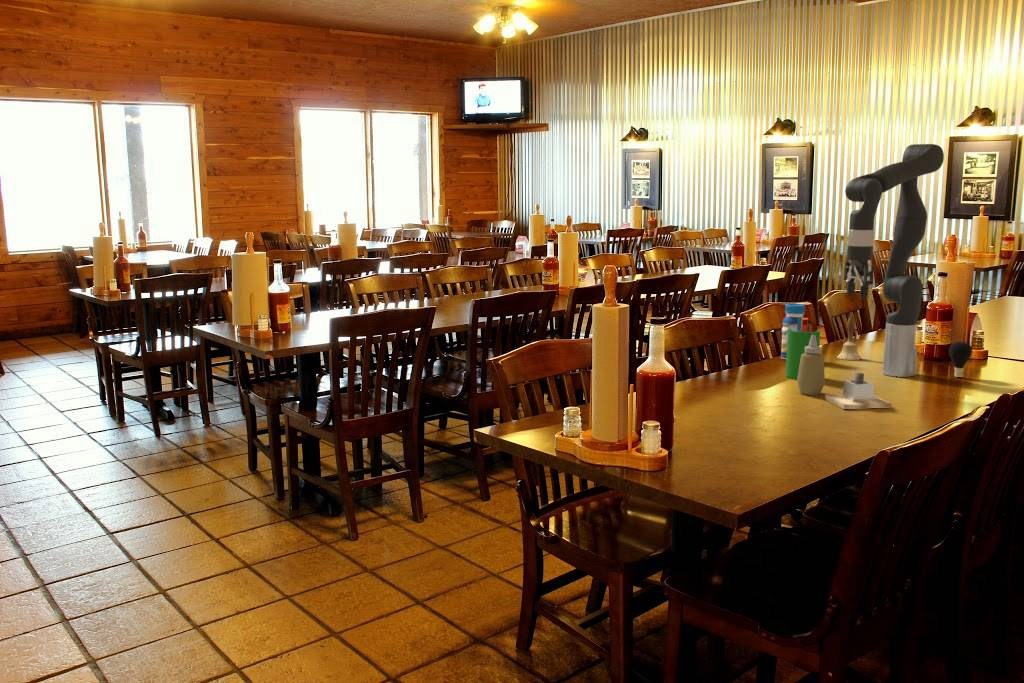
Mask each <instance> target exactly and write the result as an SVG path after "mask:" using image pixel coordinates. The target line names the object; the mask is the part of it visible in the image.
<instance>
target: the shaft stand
mask: <svg viewBox="0 0 1024 683" xmlns="http://www.w3.org/2000/svg"><path fill="white" fill-rule="evenodd" d="M864 377H865V373H863V372H855V374H854V380H855V382H854V383H855V384H863V382H864V380H865V379H864ZM824 396H825V397H824V400H825V399H826V400H825V401H826V402H828V401H829V403H830V402H831V404H832V403H833V404H832V405H834V404H835V405H834V406H836V405H837V406H836V407H838V406H839V407H838V408H840V407H841V408H843V409H858V410H868V409H867V408H889V409H892V407H893V406H892V402H890V401H888V400H886V399H883V398H881V397H879V396H877V395H875V394H873V401H860V402H853V401H851V400H849V399H847V398H845V397H843V393H841V394H825V395H824ZM841 408H840V409H841ZM843 409H842V410H843Z"/></svg>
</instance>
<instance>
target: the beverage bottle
mask: <svg viewBox="0 0 1024 683" xmlns="http://www.w3.org/2000/svg"><path fill="white" fill-rule="evenodd" d="M784 308H785V309H784V312H785V317H783V319H782V322H781V323H782V328H781V333H782V334H781V352H780V353H781V354H780V358H781V359H782V358H783V359H786V357H787V336H788V329H791V330H792V331H798V332H801V327H802V318H805V317H804V315H805V313H806V312H805V311H806V305H805V304H803V303H793V302H792V303H786V304H785V307H784ZM783 359H782V360H783Z"/></svg>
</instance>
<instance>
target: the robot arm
mask: <svg viewBox="0 0 1024 683" xmlns="http://www.w3.org/2000/svg"><path fill="white" fill-rule="evenodd" d="M944 158H945V153H944V150H943V148H942V147H941V146H939V145H938V144H934V143H923V144H922V143H921V144H920V143H919V144H918V143H917V144H913V143H912V144H909V145H907V147H906V148H905V150H904V151H903V154H902V159H901V161H899V162H895V163H892V164H889V165H886V166H885V165H884V167H881V168H879V169H877V170H876V171H874V172H872V173H868V174H864V175H860V176H857V177H855V178H853V179H851V180H850V181H849V182H848V183H847V185H846V186H845V191H844V192H845V196H846V198H847V199H848V201H851V202H855V203H863V204H862V206H861V208H860V209H856V210H853V211H851V212H850V213H849V214H850V215H849V226H848V227H849V228H848V233H847V247H846V259H847V261H845V262H844V272H843V280H844V281H846V284H847V285H846V295H848V296H854V295H855V292H856V290H855V289H856V281H857V280H858V282H859V284H860V288H859V298H860V299H868V297H869V287H870V286H872V285H874V267H875V266H874V264H869V261H872V260H873V258H874V243H875V242H874V239H875V237H874V236H875V233H874V226H875V216H876V213H877V211H878V207H879V204H880V202H881V199H882V195H883V193H885V192H887V191H889V190H891V189H893V188H895V187H897V186H899V185H900V187H899V188H900V190H899V198H898V204H897V211H896V216H895V223H894V229H893V230H894V231H893V239H892V245H891V249H890V250H891V251H890V255H889V258H888V259H889V260H888V265H887V266H886V268H887V269H886V271H885V275H884V278H883V280H884V281H883V285H882V292H883V294H882V295H883V297H884V298H885V299H886V300H887V301H889V302H894V303H899V306H898V309H897V310H896V311H893V312H889V313H888V314H887V315H886V318H885V319H886V321H885V333H884V334H885V335H884V348H883V362H882V363H883V365H882V375H885V376H890V377H896V376H897V378H907V377H913V376H916V374H917V359H918V347H917V346H916V339H917V338H916V335H917V326H918V325H917V323H918V322H917V321H918V318H919V317H920V312H921V304H922V298H923V282H922V280H921V279H920V277H918V276H917V275H912V274H911V275H910V274H905V272H906V267H907V264H908V261H909V259H910V257H911V255H912V254H913V252H914V251H915V250H916V249H917V247H918V246H919V245H920V244H921V242H922V240H923V239H924V236H925V233H926V228H927V227H926V226H927V221H928V213H927V209H926V207H925V204H924V202H923V200H922V197H921V196H920V192H919V189H918V179H919V177H921V176H925V175H929V174H932V173H935V172H937V171H938V170H940V168H941V167H942V166H943V163H944V161H945V160H944Z"/></svg>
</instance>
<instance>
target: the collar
mask: <svg viewBox="0 0 1024 683" xmlns="http://www.w3.org/2000/svg"><path fill="white" fill-rule="evenodd" d="M854 382H855V379H844V380H843V393H842V394H843V397H845V398H847V399H849V400H851V401H853V402H860V401H873V395H874V392H875V391H874V390H875V389H874V388H875V384H874V383H873V382H870V381H868V380H866V379H864V382H863V384H855V383H854Z"/></svg>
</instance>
